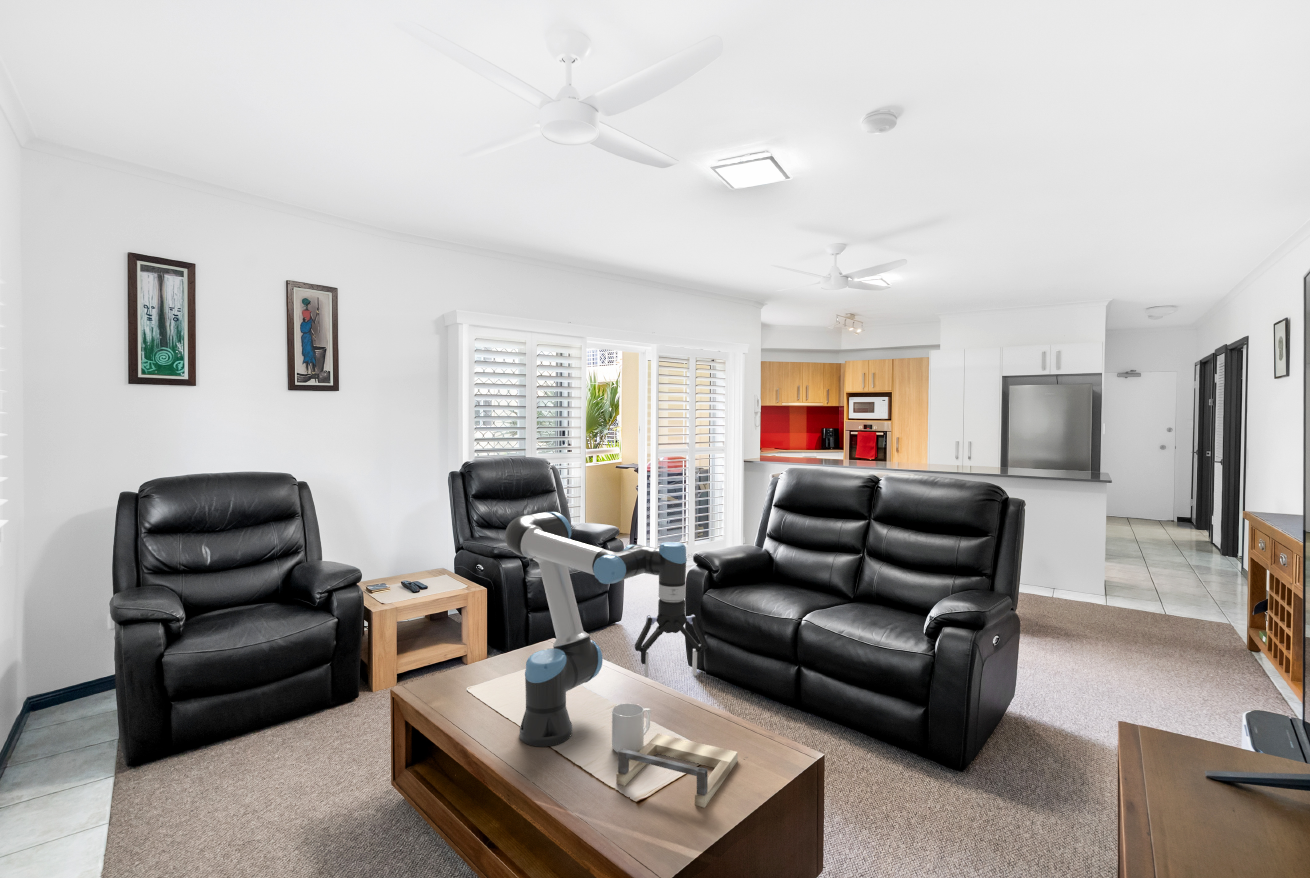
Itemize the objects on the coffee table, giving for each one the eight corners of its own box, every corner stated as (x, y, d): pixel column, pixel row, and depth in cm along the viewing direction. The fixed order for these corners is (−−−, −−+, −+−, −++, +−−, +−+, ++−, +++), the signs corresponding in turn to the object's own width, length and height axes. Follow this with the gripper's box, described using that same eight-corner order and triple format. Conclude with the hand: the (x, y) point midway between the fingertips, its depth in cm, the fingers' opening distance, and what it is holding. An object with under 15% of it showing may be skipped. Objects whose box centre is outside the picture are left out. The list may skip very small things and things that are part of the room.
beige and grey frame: (616, 783, 163) (616, 752, 163) (657, 742, 185) (657, 714, 185) (704, 807, 153) (704, 774, 153) (737, 761, 174) (737, 731, 174)
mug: (623, 760, 175) (624, 719, 174) (605, 747, 182) (606, 708, 182) (658, 747, 182) (659, 708, 182) (639, 735, 189) (640, 697, 189)
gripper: (628, 603, 174) (626, 681, 174) (718, 601, 177) (717, 678, 178) (626, 595, 181) (624, 670, 182) (713, 594, 184) (711, 667, 185)
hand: (670, 674), depth 180 cm, fingers open, 13 cm apart
